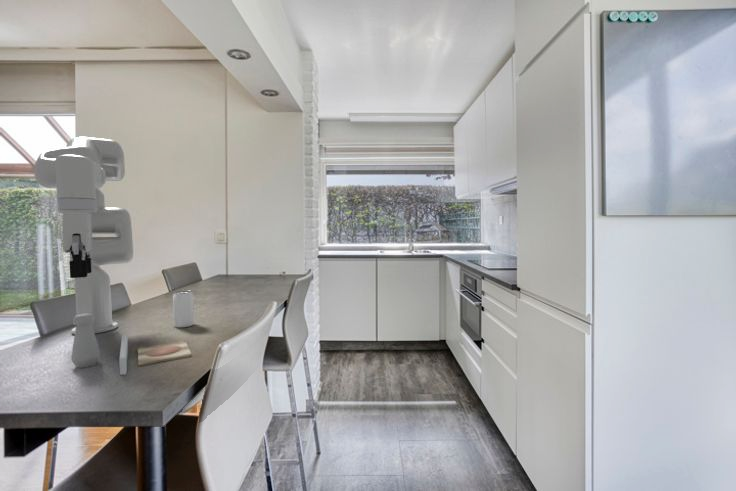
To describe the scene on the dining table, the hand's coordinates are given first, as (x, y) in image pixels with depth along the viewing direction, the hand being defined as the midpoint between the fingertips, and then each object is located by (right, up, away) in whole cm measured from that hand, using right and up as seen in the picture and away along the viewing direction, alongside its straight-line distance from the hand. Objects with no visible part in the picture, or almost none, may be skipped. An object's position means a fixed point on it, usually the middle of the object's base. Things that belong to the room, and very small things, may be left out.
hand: (81, 275), depth 89 cm
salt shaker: (0, -23, +1) cm, 23 cm away
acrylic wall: (+8, -23, +4) cm, 24 cm away
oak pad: (+15, -22, +9) cm, 29 cm away
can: (+7, -21, +37) cm, 43 cm away
